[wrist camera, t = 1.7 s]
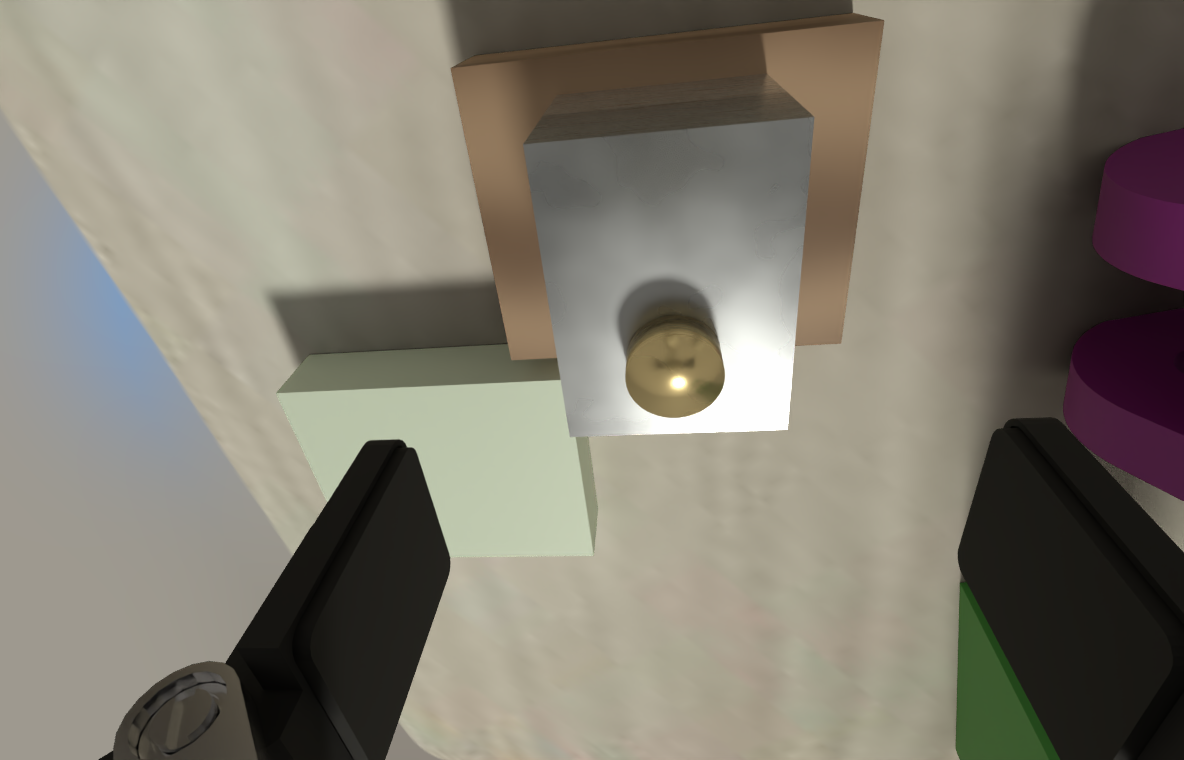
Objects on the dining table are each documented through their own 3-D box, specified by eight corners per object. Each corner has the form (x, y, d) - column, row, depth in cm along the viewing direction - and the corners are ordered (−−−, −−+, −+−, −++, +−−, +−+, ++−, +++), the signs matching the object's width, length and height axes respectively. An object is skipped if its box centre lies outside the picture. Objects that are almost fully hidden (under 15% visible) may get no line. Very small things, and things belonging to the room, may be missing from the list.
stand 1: (309, 354, 28) (275, 393, 25) (574, 340, 26) (566, 379, 24) (375, 514, 33) (353, 558, 31) (597, 509, 32) (593, 555, 29)
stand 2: (474, 55, 20) (450, 68, 18) (853, 12, 19) (884, 20, 17) (524, 322, 26) (511, 360, 23) (821, 305, 24) (841, 343, 22)
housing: (557, 95, 18) (514, 156, 12) (766, 73, 17) (826, 127, 12) (587, 332, 23) (565, 460, 17) (755, 323, 22) (794, 453, 16)
